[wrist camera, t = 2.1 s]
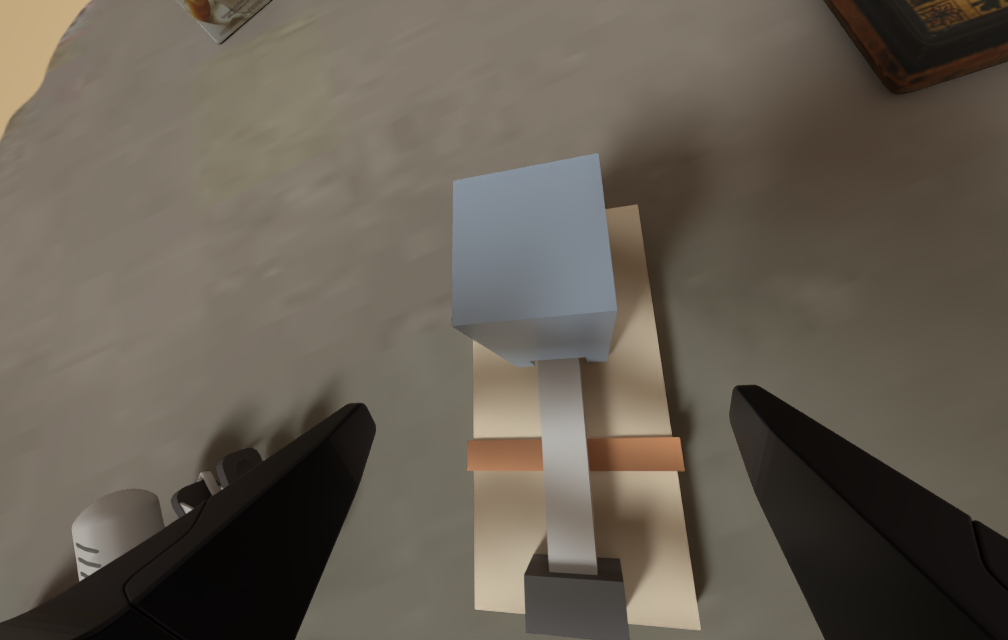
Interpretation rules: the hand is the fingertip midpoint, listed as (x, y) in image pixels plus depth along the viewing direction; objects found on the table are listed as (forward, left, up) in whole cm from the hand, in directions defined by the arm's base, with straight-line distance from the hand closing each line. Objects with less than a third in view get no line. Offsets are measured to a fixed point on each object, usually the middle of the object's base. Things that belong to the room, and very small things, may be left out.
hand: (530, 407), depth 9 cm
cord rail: (+1, -1, -12) cm, 12 cm away
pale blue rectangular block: (+4, -2, -10) cm, 11 cm away
